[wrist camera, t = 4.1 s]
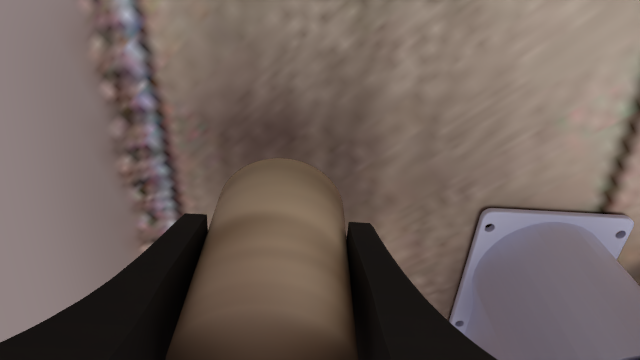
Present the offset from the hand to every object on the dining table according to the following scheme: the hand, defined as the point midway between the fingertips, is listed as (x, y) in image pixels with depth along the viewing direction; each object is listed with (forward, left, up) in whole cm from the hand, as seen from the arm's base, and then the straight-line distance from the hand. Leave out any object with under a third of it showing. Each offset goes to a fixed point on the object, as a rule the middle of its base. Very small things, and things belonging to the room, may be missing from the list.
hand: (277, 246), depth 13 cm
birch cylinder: (0, 0, -2) cm, 2 cm away
